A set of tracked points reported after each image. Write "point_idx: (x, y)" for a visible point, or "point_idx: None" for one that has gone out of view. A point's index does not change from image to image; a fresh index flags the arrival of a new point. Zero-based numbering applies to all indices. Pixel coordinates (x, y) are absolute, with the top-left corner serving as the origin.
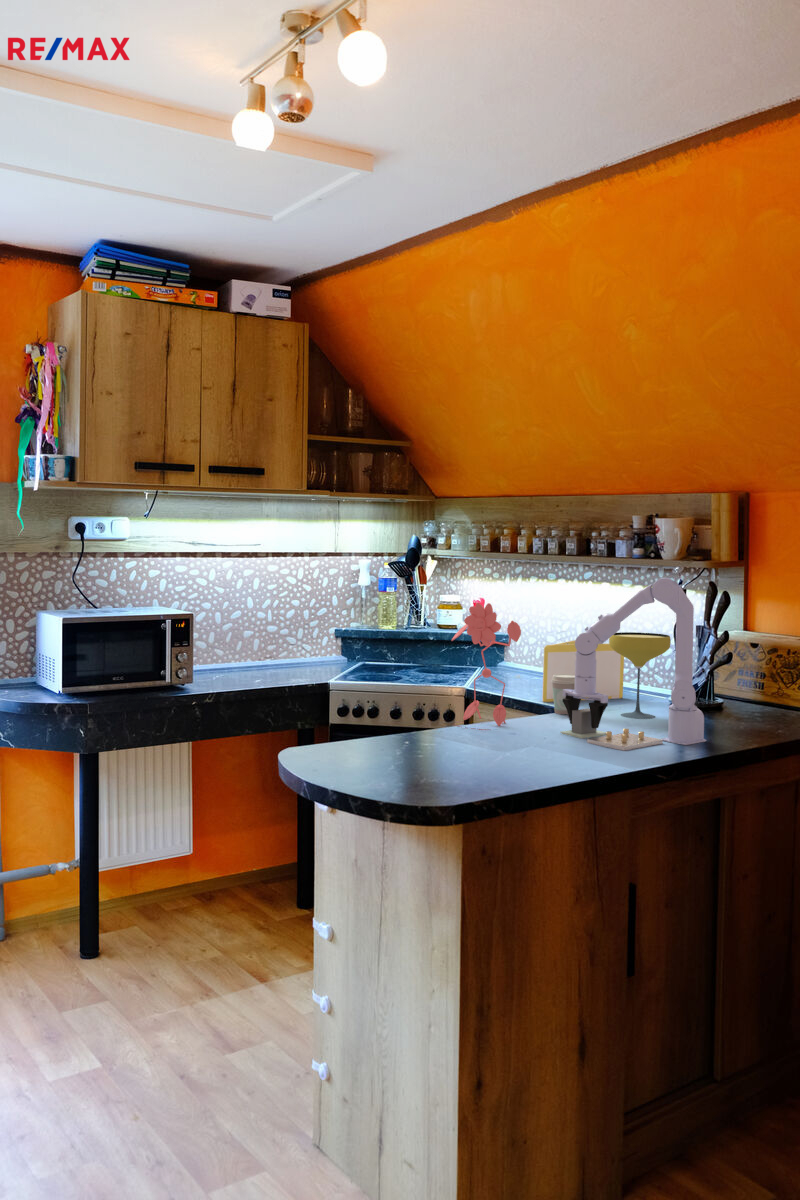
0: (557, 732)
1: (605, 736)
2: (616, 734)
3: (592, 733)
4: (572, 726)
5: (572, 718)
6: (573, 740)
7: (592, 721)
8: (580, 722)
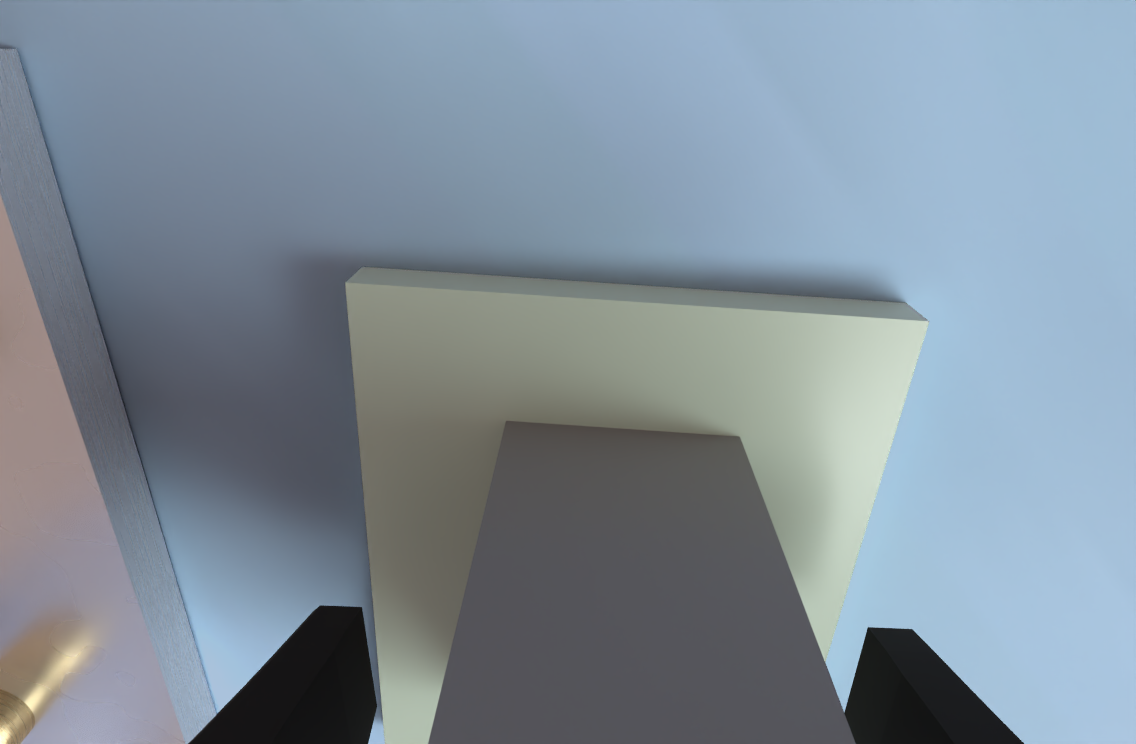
0: (1041, 394)
1: (89, 523)
2: (164, 722)
3: (455, 598)
4: (742, 498)
5: (796, 635)
6: (346, 22)
7: (248, 703)
8: (500, 567)
